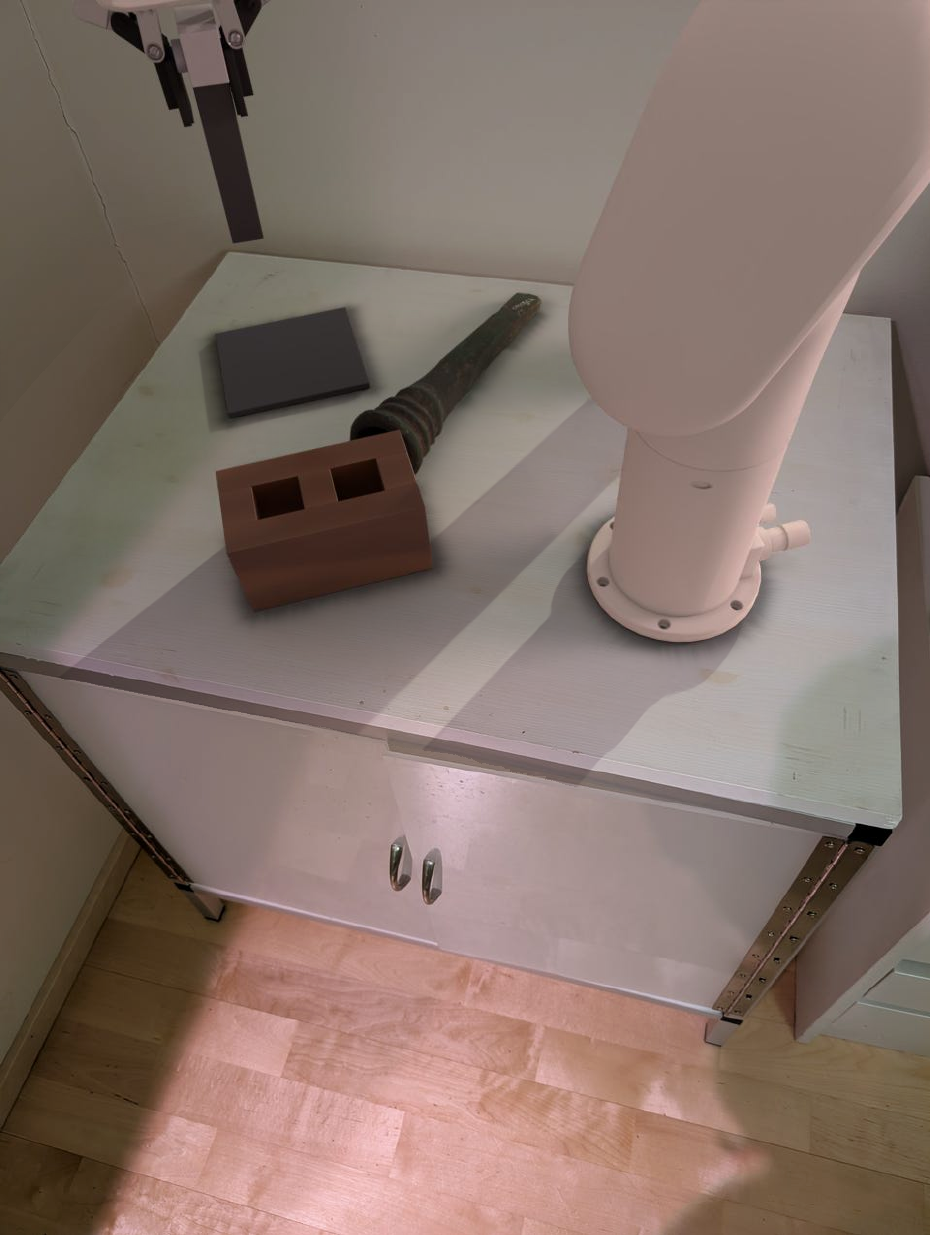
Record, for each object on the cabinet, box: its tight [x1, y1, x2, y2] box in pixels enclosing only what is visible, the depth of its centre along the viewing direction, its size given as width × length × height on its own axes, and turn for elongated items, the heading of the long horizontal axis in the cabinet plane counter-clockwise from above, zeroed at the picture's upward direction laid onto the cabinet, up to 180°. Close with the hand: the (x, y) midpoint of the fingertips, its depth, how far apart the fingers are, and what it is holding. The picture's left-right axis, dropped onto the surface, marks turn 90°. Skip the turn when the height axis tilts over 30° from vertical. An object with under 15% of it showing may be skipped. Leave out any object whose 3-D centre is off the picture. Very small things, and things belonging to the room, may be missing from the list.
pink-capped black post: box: [170, 3, 265, 244], centre depth 59 cm, size 3×4×14 cm
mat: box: [214, 306, 371, 419], centre depth 79 cm, size 13×12×1 cm
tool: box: [349, 292, 542, 476], centre depth 73 cm, size 28×6×7 cm, turn 147°
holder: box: [215, 430, 434, 613], centre depth 63 cm, size 8×14×7 cm, turn 105°
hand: (214, 110), depth 57 cm, fingers closed on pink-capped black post, 3 cm apart
